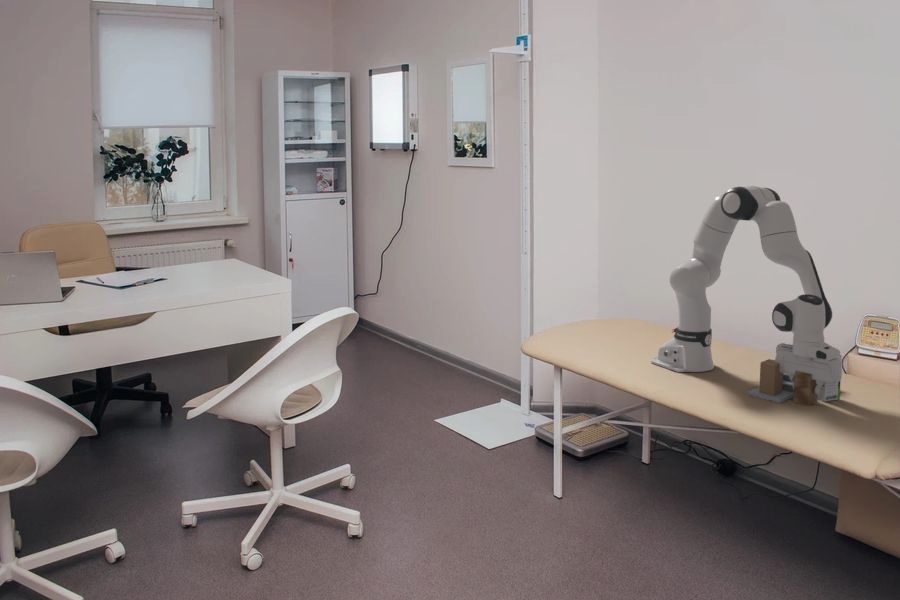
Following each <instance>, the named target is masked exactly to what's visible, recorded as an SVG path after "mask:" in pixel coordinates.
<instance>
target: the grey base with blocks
mask: <svg viewBox="0 0 900 600" xmlns="http://www.w3.org/2000/svg"><path fill="white" fill-rule="evenodd" d="M759 366H760V367H759V368H760V369H759V370H760V371H759V386H758V387H755V388H752V389H750V390H749V391H748V392H747V395H748V396H750V395H751V397H754V396H755V397H756V398H758V397H760V398H759V399H762V398H764V399H763V400H766V399H768V401H770V400H772V401H771V402H774V401H776V402H775V403H778V402H780V403H779V404H781V403H784V402H785V401H788V400H789V399H792V398H794V389H793V383H792V382H791V380H790V378H789V375H790V374H785V373H781V372H780V371H779V370H780V364H779V363H775V359H770V358H768V359H766V360H764V361H761V362H760V365H759ZM787 399H788V400H787Z"/></svg>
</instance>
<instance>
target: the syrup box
mask: <svg viewBox="0 0 900 600" xmlns="http://www.w3.org/2000/svg"><path fill="white" fill-rule="evenodd" d="M837 358H838V359H839V360H840V361H841V362H842V358H843V356H842V355H841V354H840V356H839V357H837ZM841 380H842V379H841ZM841 380H840V381H839V382H838V383H835V384H831V383H826V382H824V383H823V385H822V386H821V387H820V392H819V394H818V395H817V400H819V399H820V400H819V401H821V400H822V402H824V403H826V402H831V401H838V400H840V399H841Z"/></svg>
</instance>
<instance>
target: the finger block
mask: <svg viewBox="0 0 900 600" xmlns="http://www.w3.org/2000/svg"><path fill="white" fill-rule="evenodd" d="M811 376H812V374H808V373H803V372H799V371H795V380H794V397H793V403H795V402H796V403H795V404H799V403H800V405H803V404H804V405H803V406H807V405H810V406H812V405H814V404H816V403H818V399H817V395H818V394H814V393H812V391H813V390H812V388H813V387H816V386H817V385H818V384H816V380H813V379H812V378H811ZM815 402H816V403H815ZM813 403H814V404H813ZM811 404H812V405H811Z"/></svg>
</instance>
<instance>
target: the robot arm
mask: <svg viewBox="0 0 900 600" xmlns="http://www.w3.org/2000/svg"><path fill="white" fill-rule="evenodd" d="M739 221H754V222H755V223H756V224H757V227H758V229H759V230H758V231H759V238H760V243H761V244H760V246H761V249H762V252H763V255H764V256H765V257H766V258H767V259H768V260H770V261H771V262H773V263H775V264H777V265H781V266H784V267H787V268H789V269H791V270H792V271H794V272H795V273H796V274H797V275H798V277H799V280H800V283H801V284H800V285H801V287H802V290H803V293H804V294H799V295H798V296H796V298H795V299H791V300H786V301H781V302H778V303H777V304H776V305H775V306H774V307H773V310H772V312H771V313H772V314H771V320H772V323H773V325H774V327H775V328H776V329H777V330H779V331H780V332H787V333H789V332H791V333H792V334H793V336H792V344H791V343H790V344H789V343H788V344H787V343H784V342H781V343H779V344H777V346H775V353H776V354H775V358H774V360H775V363H779V364H780V370H779V371H780V372H781V373H785V374H790V375H789V378H790V380H791V382H792V383H793V389H794V380H795V371H799V372H803V373H808V374H812V376H811V378H812V379H813V380H816V384H818V385H817V386H816V387H813V388H812V390H813V391H812V393H814V394H819V392H820V387H821V386H822V385H823V383H824V382H826V383H831V384H835V383H838V382H839V381H840V380H842V375H843V374H842V373H843V371H842V370H843V367H842V360H841V361H840V360H839V359H838V358H837V357H839V356H840V355H841V350H839V349H838V348H836V347H834V346H832V345H831V344H828V343H826V342H825V335H824V331H825V329H826V328H827V327H828V326H829V324H830V323H831V321H832V318H833V310H832V307H831V305H830V303H829V302H828V299H827V297H826V295H825V293H824V289H823V286H822V283H821V279H820V275H819V274H818V270H817V267H816V264H815V262H814V259H813V257H812V254H811V253H810V252H809V251H808V250H807V249H806V248H805V247H804V246H803V244H802V243H801V240H800V239H799V234H798V228H797V225H796V219H795V217H794V215H793V211H792V209H791V206H790V205H789V204H788V203H787V202H786V201H782V200H781V197H780V196H779V194H778V193H777V192H776V191H775V190H773V189H771V188H768V187H761V186H754V185H752V186H736V187H735V186H734V187H731V188H729V189H727V190H726V191H724V193H723V194H719V195H717V196H716V197H715V198H714V199H713V200H712V202H711V203H710V205H709V206H708V208H707V210H706V212H705V213H704V216H703V217H702V220H701V222H700V224H699V227H698V229H697V232H695V233H696V234H695V235H694V238H693V248H692V249H693V250H692V255H691V257H690V259H689V260H688V261H686V262H683V263H680V264H678V265H677V266H676V267H675V268H674V269H673V270H672V271H671V273H670V275H669V284H670V287H671V289H672V290H673V291H674V293H675V296H676V297H675V298H676V301H677V306H678V317H677V318H678V325H677V327H676V328H673V329H672V330H671V331H672V332H671V333H672V334H674V335H673V337H671V338H670V339H669V340H667V341H666V342H664V343H663V344H661V345H660V347H659V348H658V352H657V356H655V357H653V358H651V361H650V362H651V364H654V365H656V366H659V367H662V368H664V369H669V370H670V371H674V372H677V373H687V372H689V373H703V372H708V371H709V372H710V371H712V370H713V369H715V364H714V361H713V354H712V337H713V333H712V328H711V325H712V321H711V320H712V317H711V316H712V308H711V305H710V304H709V302H708V298H707V294H706V293H707V292H706V290H707V288H708V287H711V286H712V285H714V284H715V283H716V282H717V281H718V280H719V278H720V277H721V271H722V269H721V265H722V261H723V259H724V258H723V257H724V254H725V251H726V249H727V246H728V245H729V242H730V240H731V237H732V236H733V234H734V231H735V229H736V227H737V225H738V223H739Z"/></svg>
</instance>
